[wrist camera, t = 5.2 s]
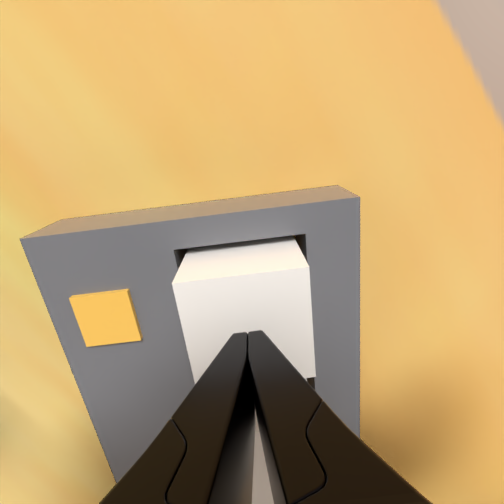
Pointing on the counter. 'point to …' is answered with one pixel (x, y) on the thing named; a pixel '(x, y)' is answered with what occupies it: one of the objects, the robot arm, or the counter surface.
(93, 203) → the counter surface
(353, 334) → the keyguard plate
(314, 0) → the counter surface
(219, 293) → the key
